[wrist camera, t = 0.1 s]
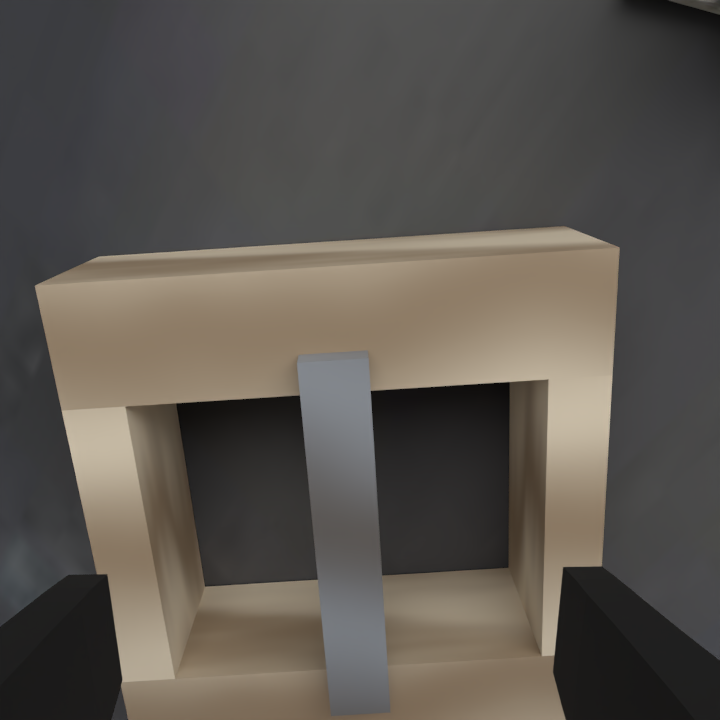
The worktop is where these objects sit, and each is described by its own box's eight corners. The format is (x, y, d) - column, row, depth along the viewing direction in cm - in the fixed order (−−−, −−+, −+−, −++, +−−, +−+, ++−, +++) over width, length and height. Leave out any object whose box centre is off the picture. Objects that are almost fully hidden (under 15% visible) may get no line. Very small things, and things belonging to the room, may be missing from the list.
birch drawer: (551, 639, 23) (599, 756, 19) (173, 663, 23) (131, 785, 19) (564, 226, 19) (630, 251, 14) (98, 256, 19) (22, 291, 14)
